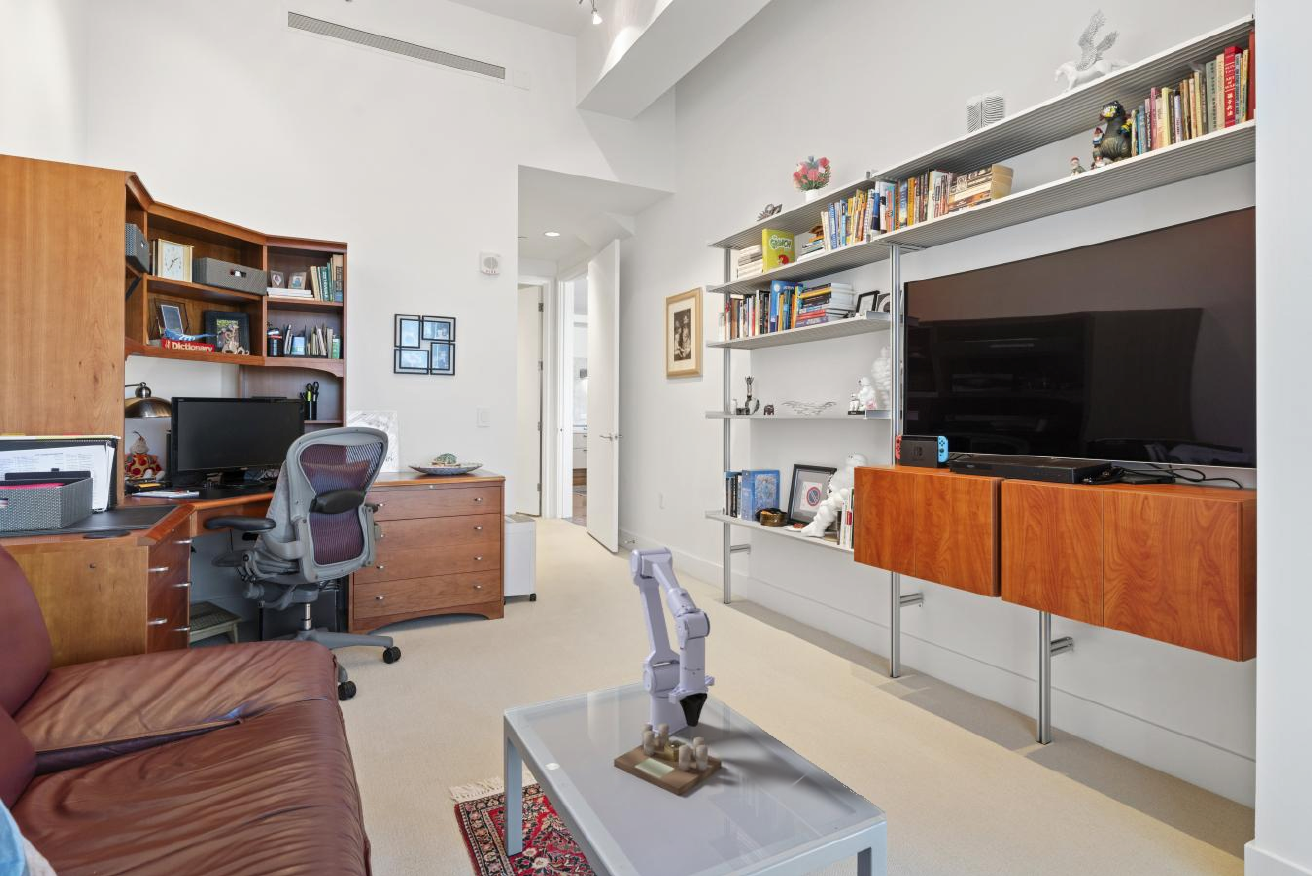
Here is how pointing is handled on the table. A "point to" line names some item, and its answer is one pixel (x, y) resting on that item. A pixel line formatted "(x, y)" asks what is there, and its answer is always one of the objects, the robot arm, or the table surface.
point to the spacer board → (668, 761)
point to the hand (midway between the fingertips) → (692, 725)
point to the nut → (672, 750)
